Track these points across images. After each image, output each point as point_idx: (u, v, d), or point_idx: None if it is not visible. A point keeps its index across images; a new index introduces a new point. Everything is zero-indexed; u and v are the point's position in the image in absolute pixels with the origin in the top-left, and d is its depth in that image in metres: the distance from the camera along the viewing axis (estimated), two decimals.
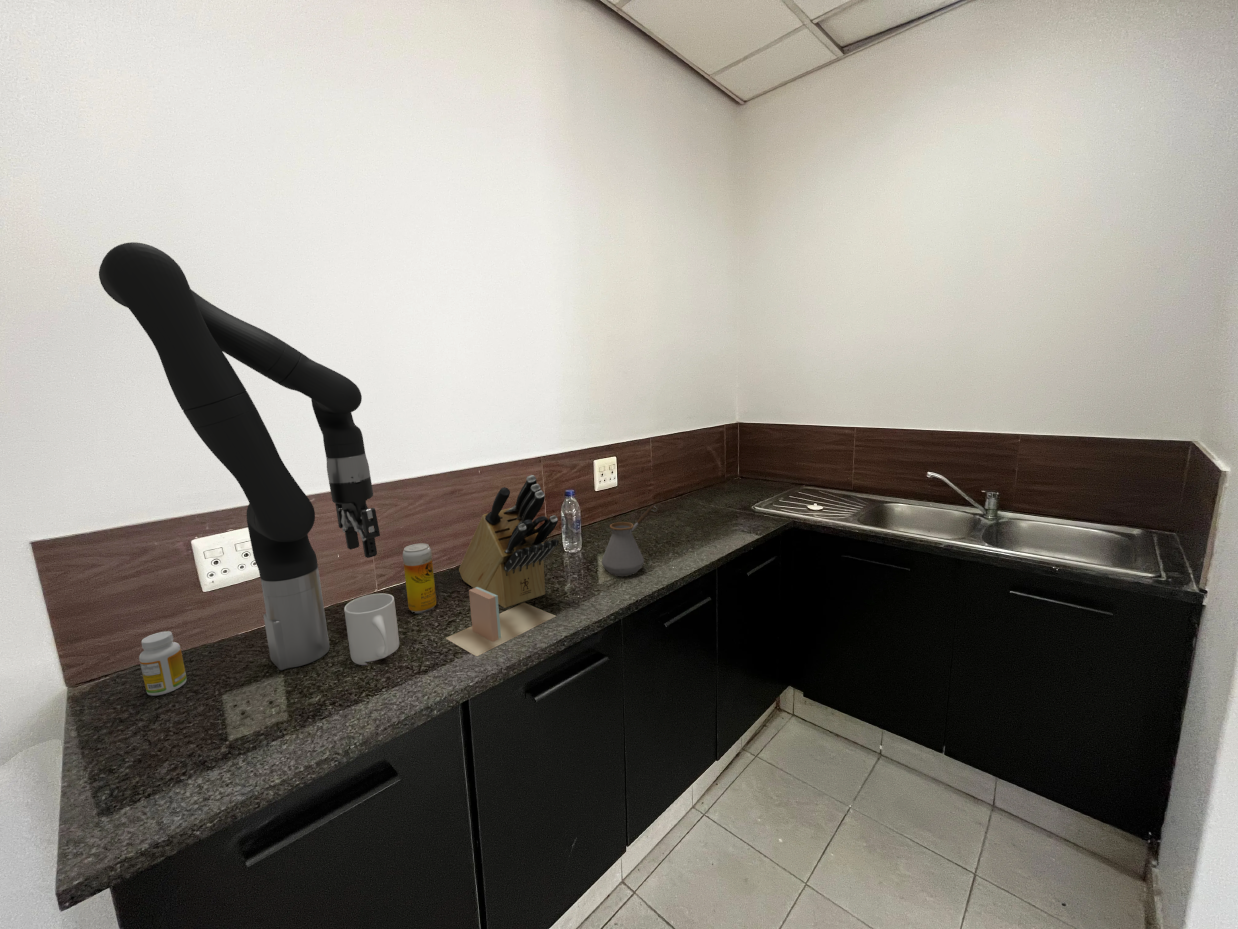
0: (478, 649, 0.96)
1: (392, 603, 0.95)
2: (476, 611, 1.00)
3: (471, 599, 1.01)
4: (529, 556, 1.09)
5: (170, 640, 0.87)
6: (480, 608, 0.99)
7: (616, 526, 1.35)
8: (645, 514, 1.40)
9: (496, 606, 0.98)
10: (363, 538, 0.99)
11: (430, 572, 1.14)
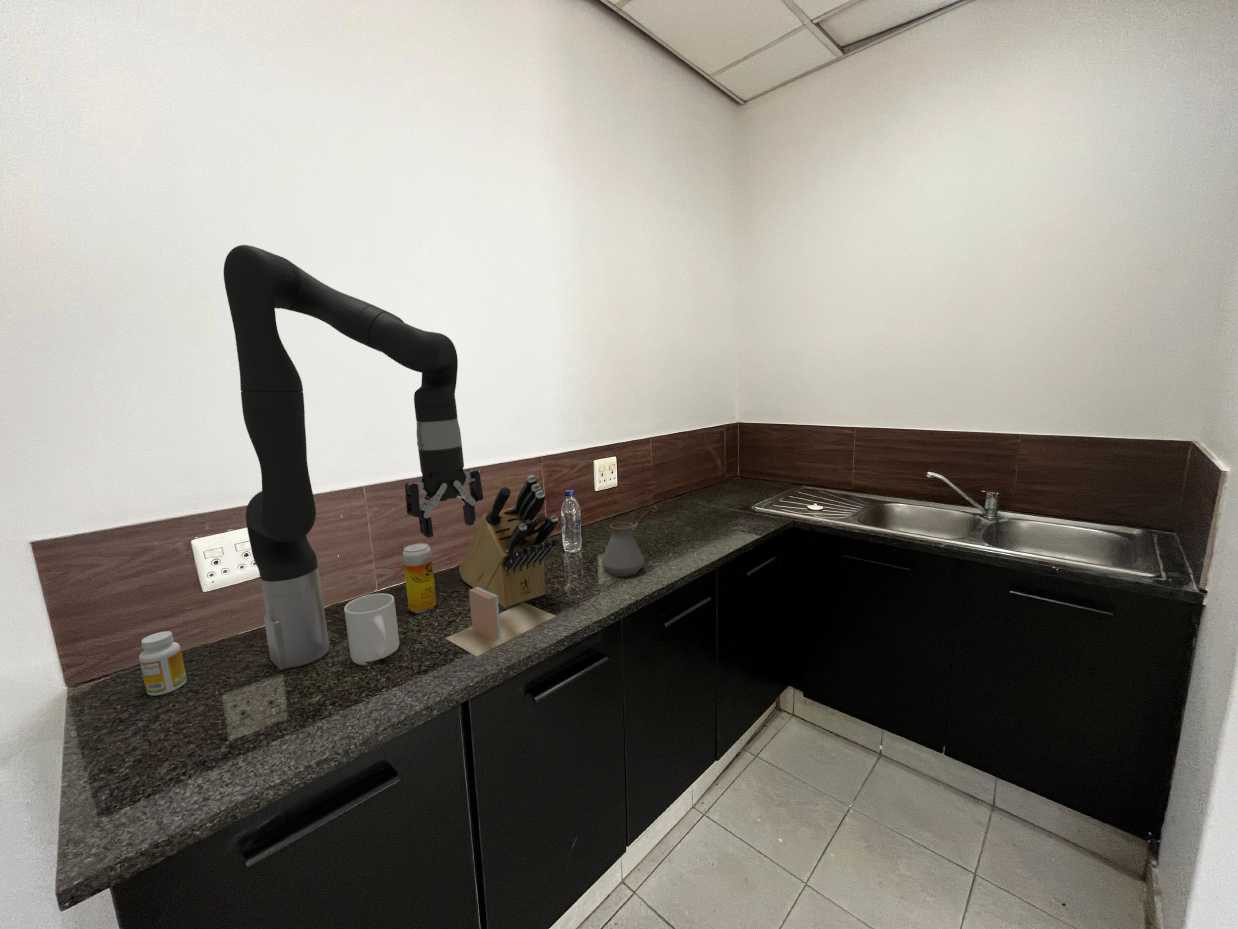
0: (478, 649, 0.96)
1: (392, 603, 0.95)
2: (476, 611, 1.00)
3: (471, 599, 1.01)
4: (529, 556, 1.09)
5: (170, 640, 0.87)
6: (480, 608, 0.99)
7: (616, 526, 1.35)
8: (645, 514, 1.40)
9: (496, 606, 0.98)
10: (474, 502, 0.95)
11: (430, 572, 1.14)
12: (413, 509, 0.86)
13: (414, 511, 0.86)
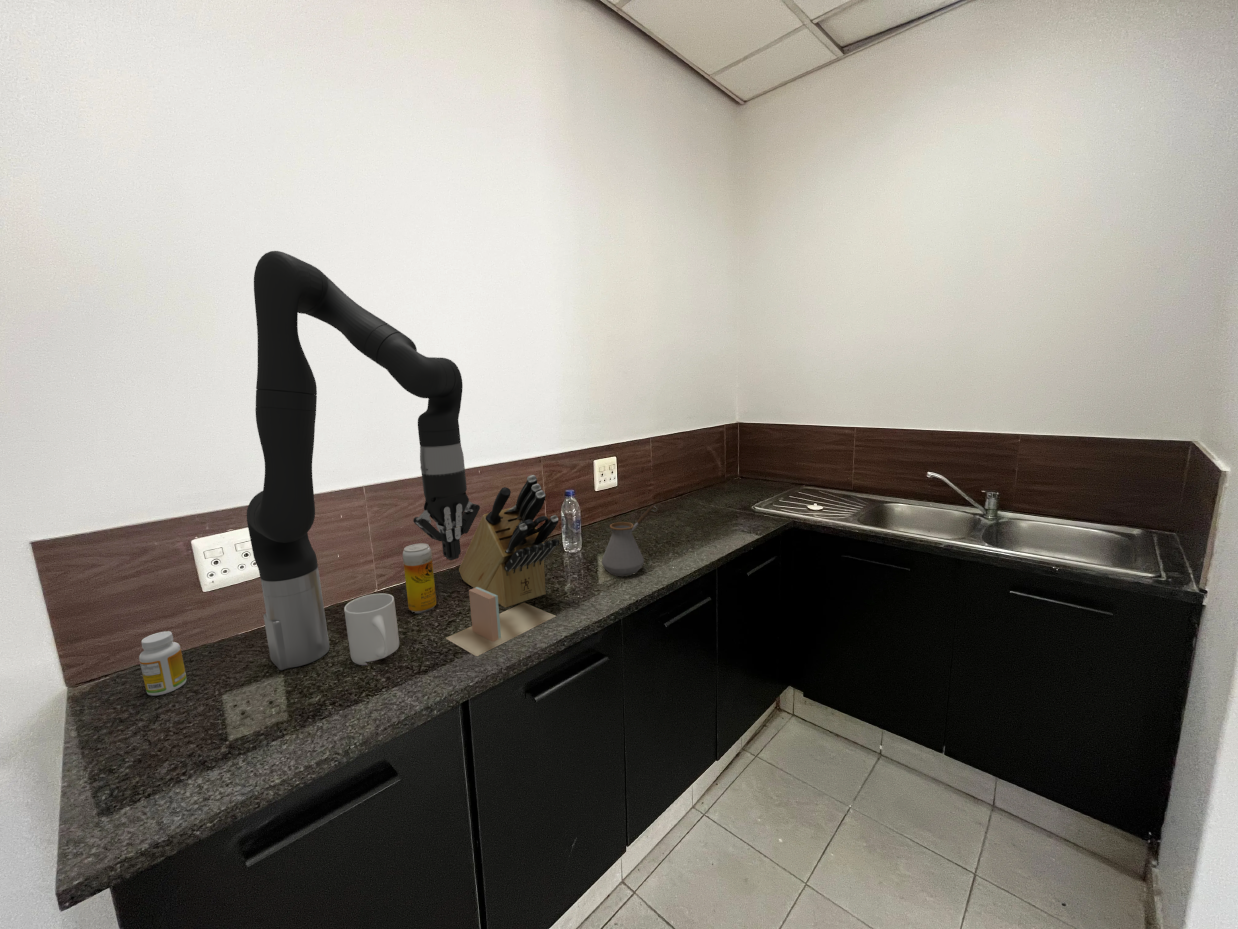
0: (478, 649, 0.96)
1: (392, 603, 0.95)
2: (476, 611, 1.00)
3: (471, 599, 1.01)
4: (530, 556, 1.09)
5: (170, 640, 0.87)
6: (480, 608, 0.99)
7: (616, 526, 1.35)
8: (645, 514, 1.40)
9: (496, 606, 0.98)
10: (459, 537, 0.93)
11: (430, 572, 1.14)
12: (435, 537, 0.90)
13: (438, 535, 0.90)
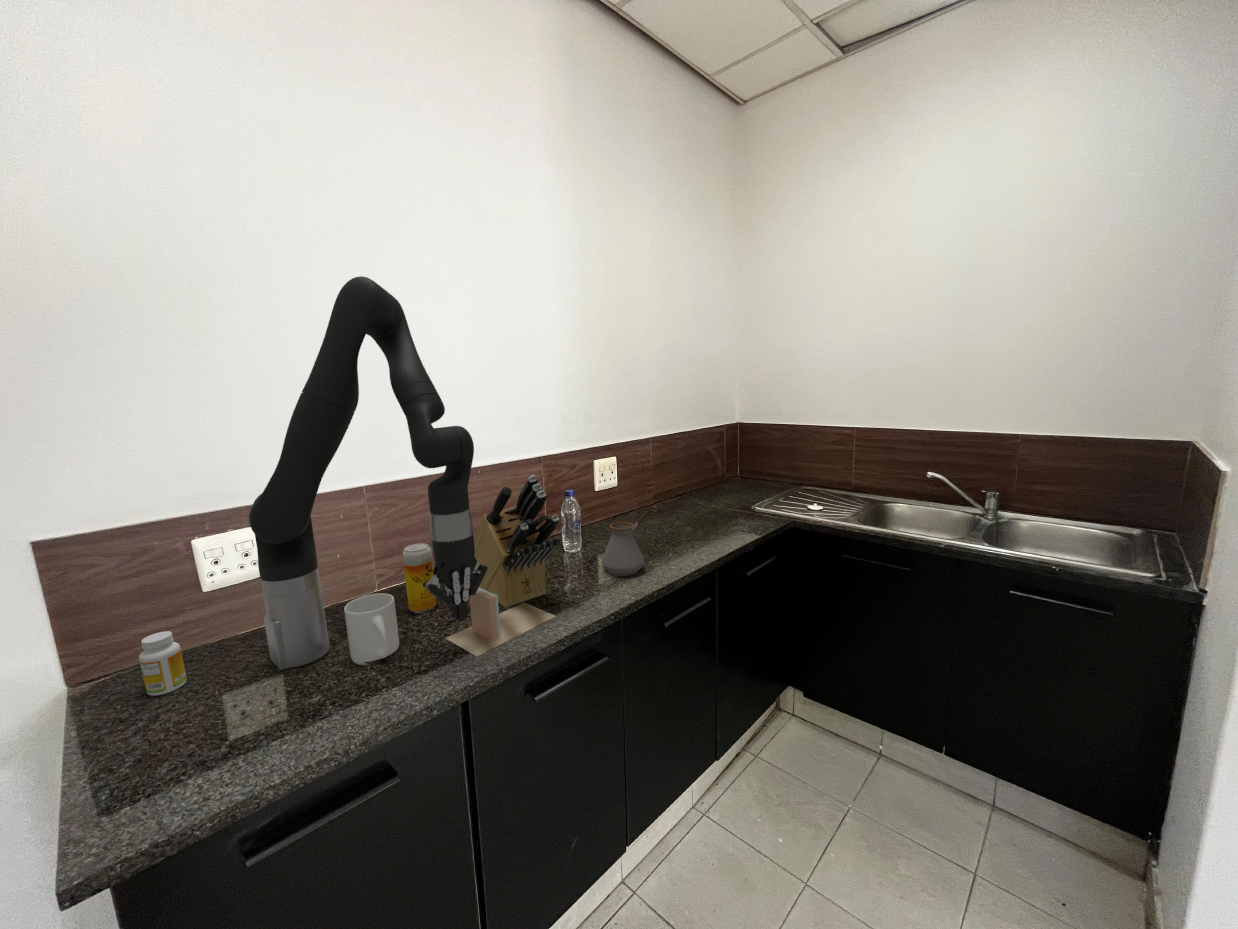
0: (478, 649, 0.96)
1: (392, 603, 0.95)
2: (476, 611, 1.00)
3: (471, 599, 1.01)
4: (531, 555, 1.09)
5: (170, 640, 0.87)
6: (480, 608, 0.99)
7: (616, 526, 1.35)
8: (645, 514, 1.40)
9: (496, 606, 0.98)
10: (467, 598, 0.95)
11: (430, 572, 1.14)
12: (444, 601, 0.92)
13: (447, 599, 0.92)
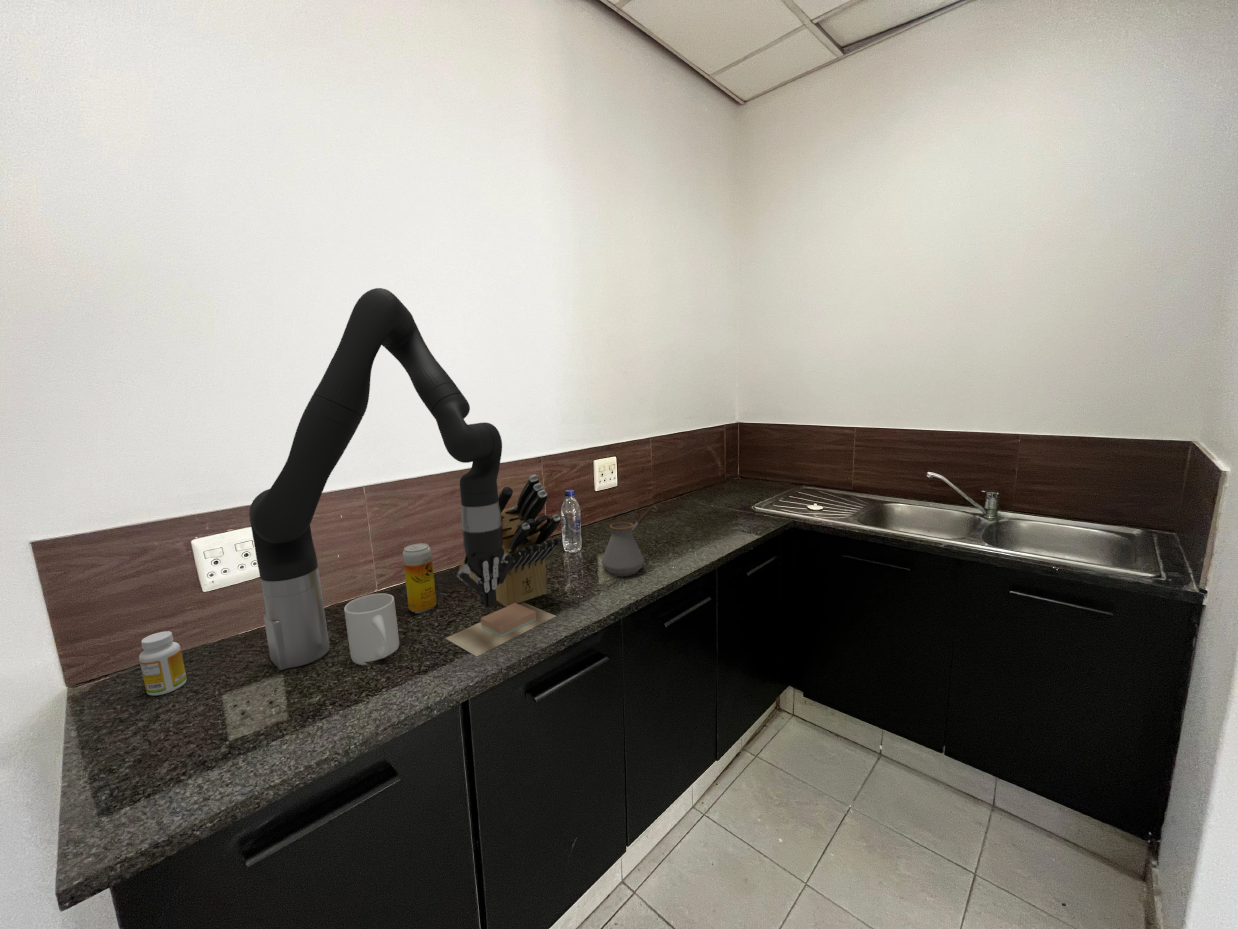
0: (478, 649, 0.96)
1: (392, 603, 0.95)
2: (507, 611, 1.06)
3: (510, 606, 1.09)
4: (532, 555, 1.09)
5: (170, 640, 0.87)
6: (515, 612, 1.06)
7: (616, 526, 1.35)
8: (645, 514, 1.40)
9: (528, 621, 1.05)
10: (495, 587, 1.00)
11: (430, 572, 1.14)
12: (474, 589, 0.97)
13: (477, 587, 0.97)
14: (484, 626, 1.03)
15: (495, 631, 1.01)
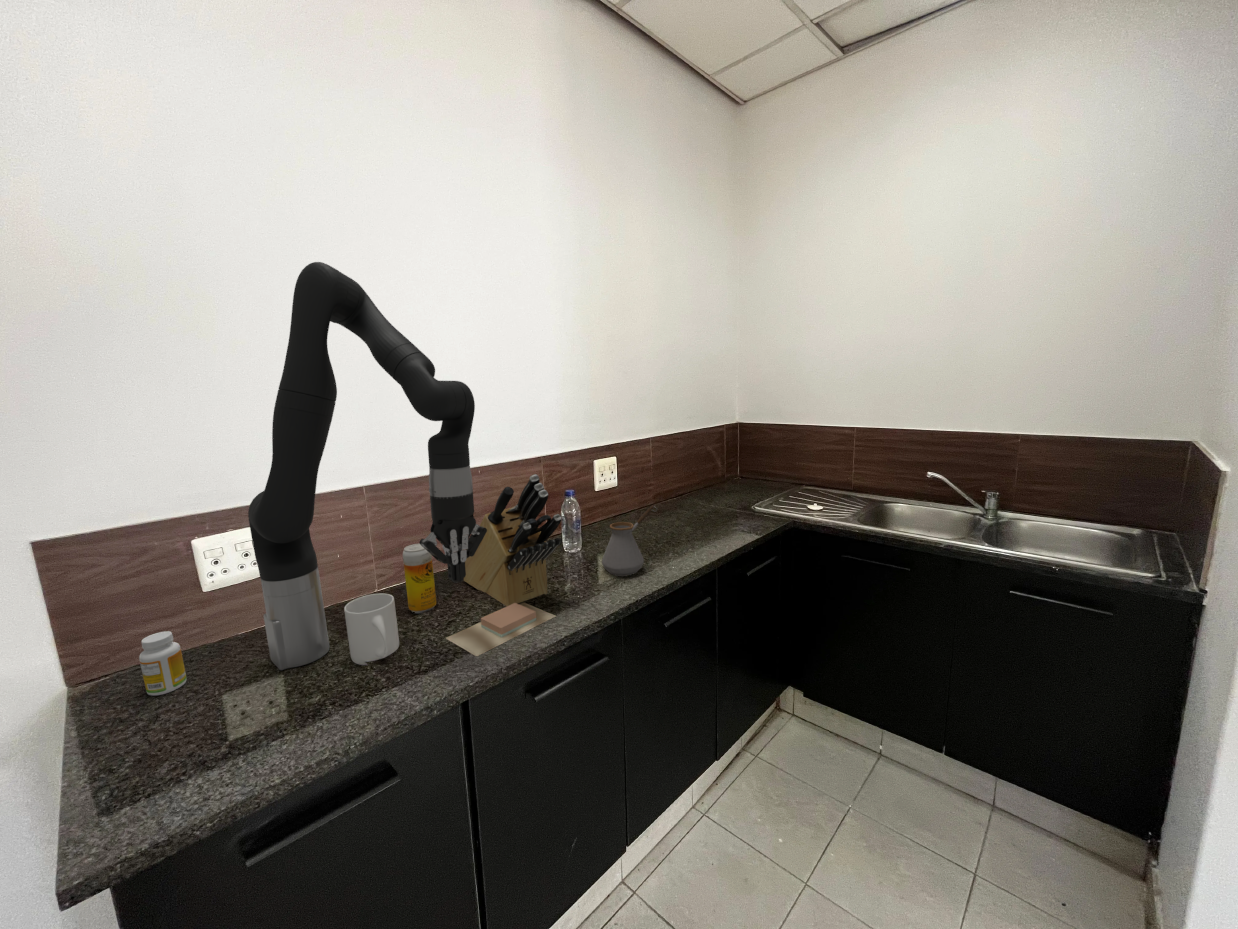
0: (478, 649, 0.96)
1: (392, 603, 0.95)
2: (507, 611, 1.06)
3: (510, 606, 1.09)
4: (533, 555, 1.09)
5: (170, 640, 0.87)
6: (515, 612, 1.06)
7: (616, 526, 1.35)
8: (645, 514, 1.40)
9: (528, 621, 1.05)
10: (464, 559, 0.93)
11: (430, 572, 1.14)
12: (440, 559, 0.89)
13: (443, 558, 0.90)
14: (484, 626, 1.03)
15: (495, 631, 1.01)
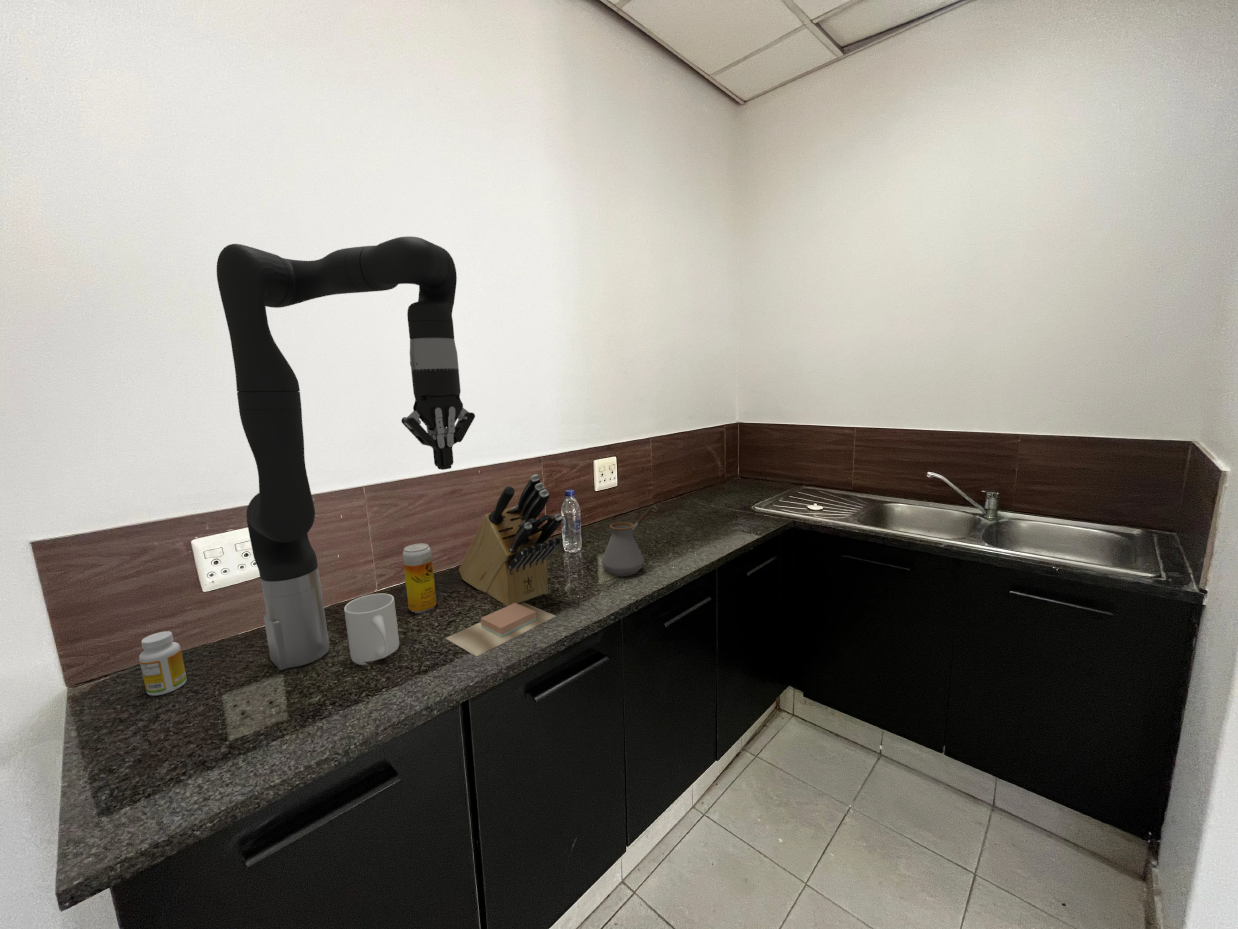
0: (478, 649, 0.96)
1: (392, 603, 0.95)
2: (507, 611, 1.06)
3: (510, 606, 1.09)
4: (534, 554, 1.10)
5: (170, 640, 0.87)
6: (515, 612, 1.06)
7: (616, 526, 1.35)
8: (645, 514, 1.40)
9: (528, 621, 1.05)
10: (452, 444, 0.86)
11: (430, 572, 1.14)
12: (425, 440, 0.82)
13: (428, 439, 0.82)
14: (484, 626, 1.03)
15: (495, 631, 1.01)
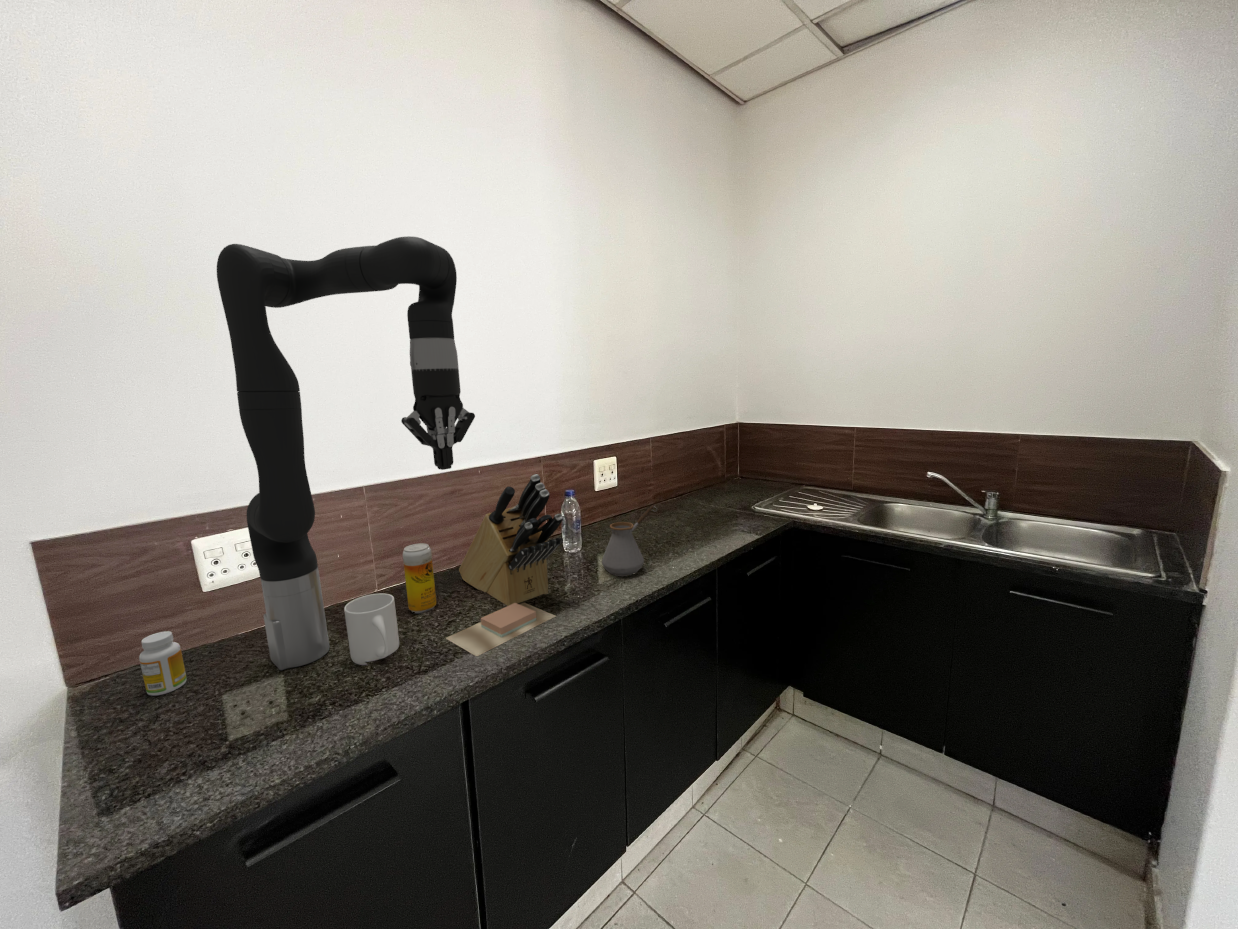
0: (478, 649, 0.96)
1: (392, 603, 0.95)
2: (507, 611, 1.06)
3: (510, 606, 1.09)
4: (534, 554, 1.10)
5: (170, 640, 0.87)
6: (515, 612, 1.06)
7: (616, 526, 1.35)
8: (645, 514, 1.40)
9: (528, 621, 1.05)
10: (451, 444, 0.86)
11: (430, 572, 1.14)
12: (425, 440, 0.82)
13: (428, 439, 0.82)
14: (484, 626, 1.03)
15: (495, 631, 1.01)
